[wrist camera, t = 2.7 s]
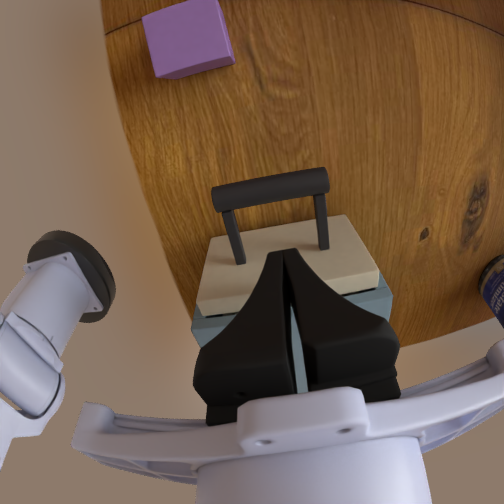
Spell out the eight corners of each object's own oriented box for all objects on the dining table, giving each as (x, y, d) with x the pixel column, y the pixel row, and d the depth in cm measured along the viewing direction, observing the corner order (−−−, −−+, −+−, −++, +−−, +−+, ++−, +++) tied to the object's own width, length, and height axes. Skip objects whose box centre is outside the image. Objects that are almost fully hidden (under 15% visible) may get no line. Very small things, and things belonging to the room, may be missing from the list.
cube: (175, 79, 15) (155, 78, 12) (162, 29, 13) (140, 16, 9) (235, 63, 15) (230, 56, 11) (222, 11, 12) (214, -8, 9)
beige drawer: (191, 175, 18) (161, 221, 12) (339, 147, 17) (382, 180, 11) (247, 344, 27) (246, 404, 21) (345, 328, 26) (362, 385, 20)
